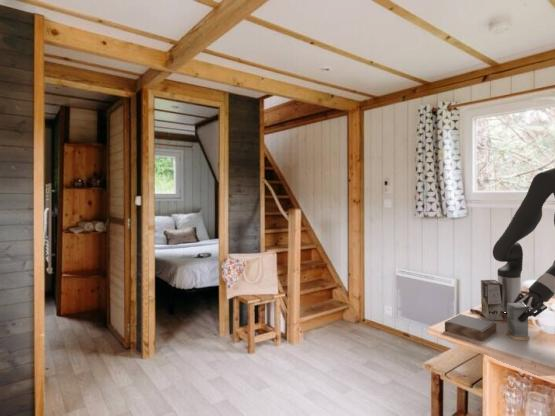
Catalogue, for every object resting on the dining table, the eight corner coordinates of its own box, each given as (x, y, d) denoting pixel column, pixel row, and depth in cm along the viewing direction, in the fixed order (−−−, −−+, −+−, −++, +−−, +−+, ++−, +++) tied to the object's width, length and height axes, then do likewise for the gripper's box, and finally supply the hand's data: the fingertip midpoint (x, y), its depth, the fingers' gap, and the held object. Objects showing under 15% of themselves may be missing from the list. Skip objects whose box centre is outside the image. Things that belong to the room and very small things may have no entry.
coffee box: (503, 320, 164) (503, 284, 163) (487, 320, 166) (487, 284, 165) (495, 313, 173) (495, 279, 172) (481, 312, 174) (480, 279, 173)
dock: (444, 330, 157) (444, 321, 156) (460, 322, 165) (459, 313, 164) (481, 341, 145) (481, 331, 145) (496, 331, 153) (496, 322, 152)
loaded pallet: (506, 334, 150) (505, 303, 149) (520, 333, 150) (519, 302, 149) (515, 340, 144) (514, 307, 143) (529, 339, 144) (529, 307, 143)
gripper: (526, 276, 153) (497, 306, 153) (551, 285, 138) (519, 318, 139) (539, 288, 153) (510, 318, 154) (566, 299, 138) (534, 331, 139)
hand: (515, 318), depth 146 cm, fingers closed on loaded pallet, 5 cm apart
